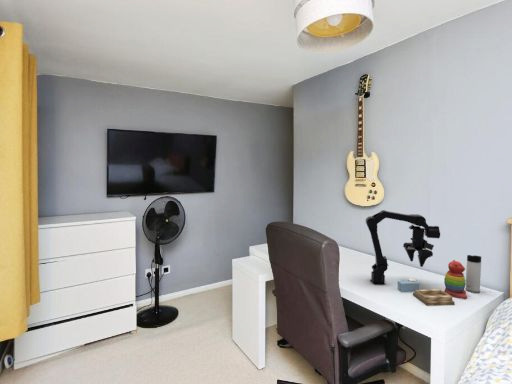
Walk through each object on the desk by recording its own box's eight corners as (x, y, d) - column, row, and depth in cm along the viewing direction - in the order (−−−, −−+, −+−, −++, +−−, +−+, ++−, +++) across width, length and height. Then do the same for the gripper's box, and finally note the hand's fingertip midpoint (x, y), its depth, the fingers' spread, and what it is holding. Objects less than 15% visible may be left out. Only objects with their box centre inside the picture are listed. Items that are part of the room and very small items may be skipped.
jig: (426, 305, 144) (426, 298, 143) (412, 295, 156) (413, 288, 155) (454, 304, 144) (454, 297, 144) (438, 294, 156) (438, 287, 156)
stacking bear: (467, 299, 149) (469, 265, 147) (444, 295, 154) (445, 262, 153) (465, 292, 158) (467, 260, 157) (443, 288, 163) (444, 257, 162)
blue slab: (401, 292, 159) (401, 281, 159) (397, 289, 163) (397, 278, 163) (419, 292, 160) (419, 281, 159) (415, 289, 164) (415, 278, 163)
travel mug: (467, 292, 158) (469, 256, 156) (464, 287, 164) (465, 252, 162) (481, 294, 155) (483, 257, 154) (477, 289, 161) (479, 253, 160)
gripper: (443, 241, 156) (441, 269, 158) (421, 233, 175) (419, 258, 176) (423, 241, 156) (421, 269, 157) (403, 233, 174) (402, 258, 176)
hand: (416, 263), depth 167 cm, fingers open, 9 cm apart
